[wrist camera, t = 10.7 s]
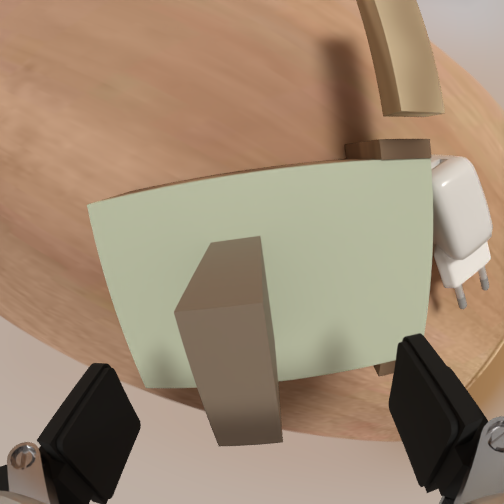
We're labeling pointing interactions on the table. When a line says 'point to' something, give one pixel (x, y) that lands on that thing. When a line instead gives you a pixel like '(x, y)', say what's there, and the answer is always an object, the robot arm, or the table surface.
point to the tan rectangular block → (402, 58)
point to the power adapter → (459, 223)
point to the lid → (268, 280)
